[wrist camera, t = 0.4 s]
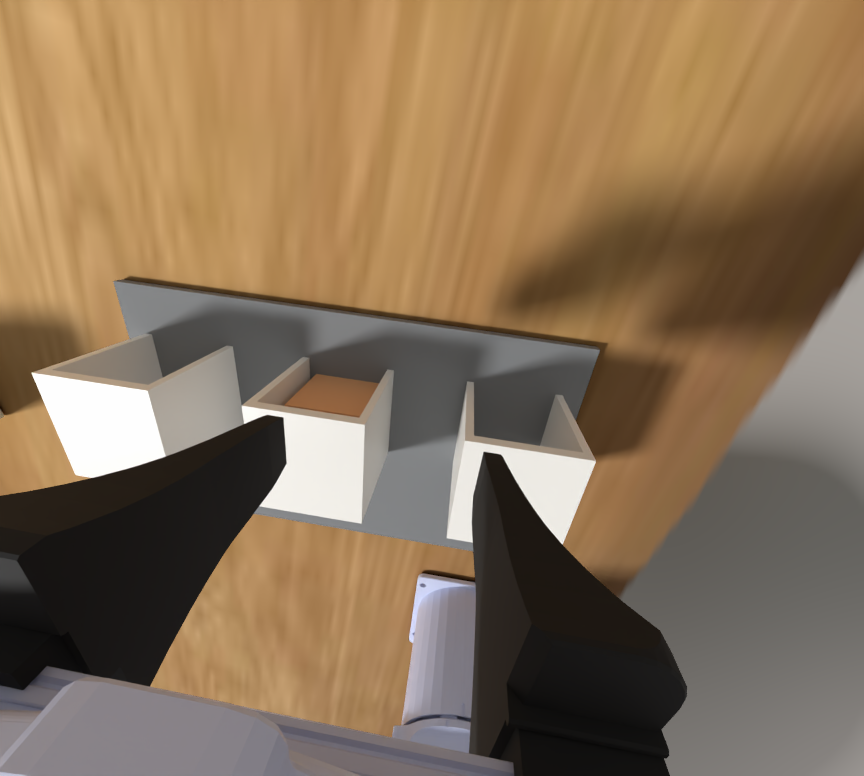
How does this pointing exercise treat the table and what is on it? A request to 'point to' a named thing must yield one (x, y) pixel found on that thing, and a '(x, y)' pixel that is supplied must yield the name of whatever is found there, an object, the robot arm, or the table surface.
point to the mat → (368, 361)
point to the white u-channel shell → (325, 449)
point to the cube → (334, 395)
